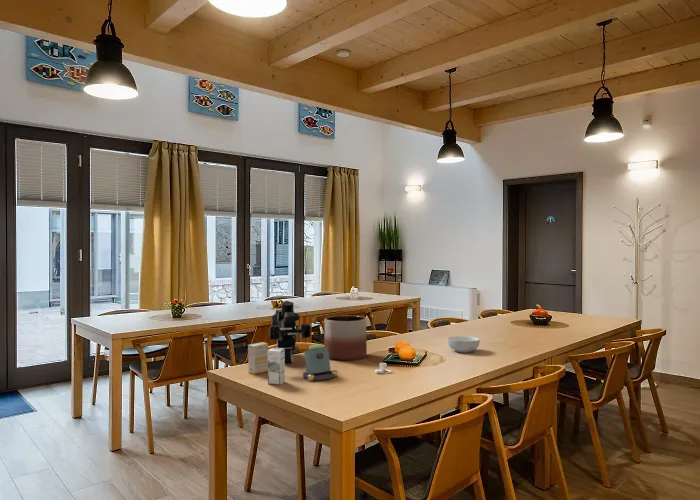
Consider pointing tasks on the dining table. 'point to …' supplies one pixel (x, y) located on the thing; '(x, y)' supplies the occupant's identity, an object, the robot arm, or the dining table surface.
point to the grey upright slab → (317, 359)
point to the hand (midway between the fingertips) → (292, 338)
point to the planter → (345, 337)
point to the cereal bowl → (463, 343)
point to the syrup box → (276, 366)
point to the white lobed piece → (382, 369)
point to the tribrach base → (320, 376)
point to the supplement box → (258, 357)
